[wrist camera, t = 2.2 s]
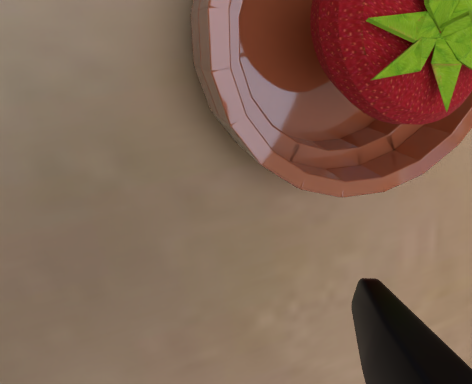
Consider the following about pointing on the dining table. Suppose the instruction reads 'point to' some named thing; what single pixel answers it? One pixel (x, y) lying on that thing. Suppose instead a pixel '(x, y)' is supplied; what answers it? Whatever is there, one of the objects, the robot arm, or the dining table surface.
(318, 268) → the dining table surface
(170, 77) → the dining table surface
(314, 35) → the strawberry
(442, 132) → the pot
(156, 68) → the dining table surface
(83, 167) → the dining table surface
